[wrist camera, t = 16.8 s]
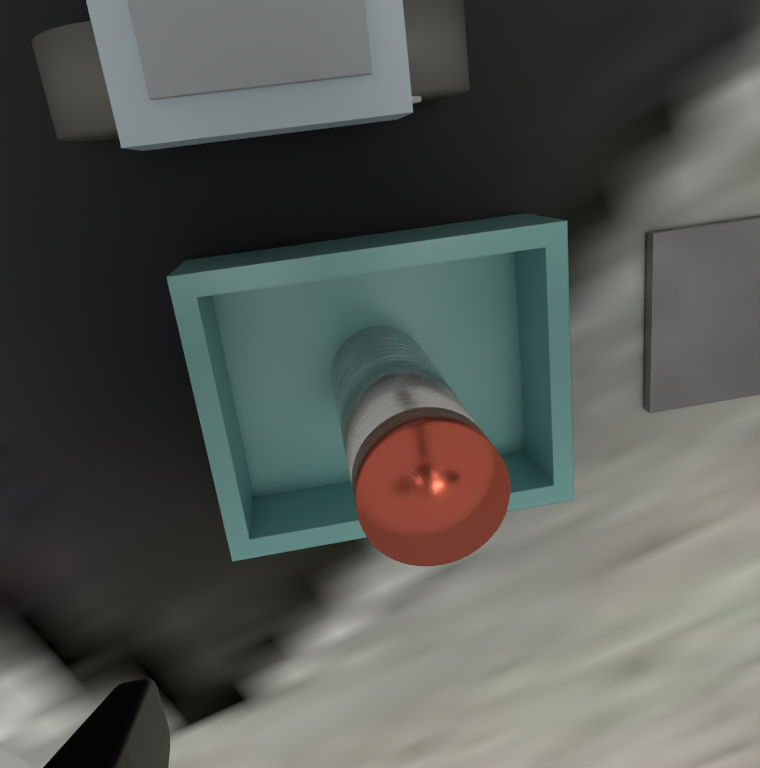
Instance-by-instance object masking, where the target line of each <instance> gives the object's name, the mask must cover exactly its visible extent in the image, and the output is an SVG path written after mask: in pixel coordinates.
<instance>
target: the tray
mask: <svg viewBox="0 0 760 768" xmlns="http://www.w3.org/2000/svg"><path fill="white" fill-rule="evenodd" d="M167 282H168V286H169V290H170V294H171V299H172V303H173V307H174V312H175V316H176V320H177V325H178V329H179V333H180V338H181V342H182V346H183V351H184V355H185V359H186V363H187V368H188V372H189V376H190V381H191V385H192V389H193V394H194V398H195V402H196V407H197V411H198V415H199V420H200V424H201V428H202V433H203V437H204V441H205V445H206V450H207V454H208V458H209V463H210V467H211V471H212V476H213V480H214V484H215V489H216V493H217V497H218V502H219V506H220V510H221V515H222V519H223V523H224V527H225V532H226V536H227V540H228V545H229V549H230V553H231V558H232V561H237V560H243V559H249V558H254V557H260V556H265V555H271V554H276V553H282V552H287V551H293V550H298V549H304V548H309V547H315V546H321V545H326V544H332V543H337V542H343V541H348V540H354V539H359V538H365V537H366V535H365V533H364V531H363V530H362V527H361V525H360V522H359V518H358V514H357V509H356V504H355V499H354V494H353V489H352V484H351V479H350V474H349V469H348V464H347V458H346V453H345V448H344V443H343V438H342V433H341V428H340V423H339V418H338V413H337V408H336V403H335V398H334V393H333V387H332V382H331V367H332V362H333V359H334V356H335V354H336V352H337V351H338V349H339V348H340V346H341V345H342V344H343V343H344V341H345V340H347V339H348V338H349V337H350V336H352V335H353V334H355V333H356V332H358V331H360V330H363V329H366V328H369V327H375V326H387V327H393V328H396V329H399V330H401V331H403V332H405V333H407V334H408V335H410V336H411V337H412V338H413V339H414V340H415V341H416V342H417V343H418V344H419V346H420V347H421V349H422V350H423V351H424V353H425V354H426V355H427V357H428V358H429V359H430V361H431V362H432V363H433V365H434V366H435V367H436V369H437V370H438V372H439V373H440V374H441V376H442V377H443V378H444V380H445V381H446V382H447V384H448V385H449V386H450V388H451V389H452V391H453V392H454V393H455V395H456V396H457V397H458V399H459V400H460V401H461V403H462V404H463V405H464V407H465V408H466V409H467V411H468V412H469V414H470V415H471V416H472V418H473V419H474V420H475V422H476V423H477V424H478V426H479V427H480V428H481V430H482V431H483V432H484V434H485V435H486V437H487V438H488V439H489V441H490V442H491V443H492V445H493V446H494V447H495V449H496V450H497V451H498V453H499V454H500V456H501V457H502V459H503V461H504V463H505V465H506V467H507V471H508V474H509V479H510V499H509V504H508V508H507V511H506V512H509V511H514V510H520V509H526V508H531V507H537V506H542V505H548V504H553V503H559V502H564V501H570V500H574V483H573V441H572V399H571V357H570V316H569V274H568V232H567V220H561V219H555V218H550V217H544V216H538V215H533V214H527V213H523V214H516V215H509V216H502V217H495V218H487V219H480V220H473V221H466V222H459V223H451V224H444V225H437V226H430V227H423V228H415V229H408V230H401V231H394V232H386V233H379V234H372V235H365V236H358V237H350V238H343V239H336V240H329V241H322V242H314V243H307V244H300V245H293V246H286V247H278V248H271V249H264V250H257V251H250V252H242V253H235V254H228V255H221V256H213V257H206V258H199V259H192V260H186V261H184V262H183V263H182V264H181V265H180V266H179V267H177V268H176V269H175V270H174V271H173V272H172V273H170V274H169V275H168V276H167Z"/></svg>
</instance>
